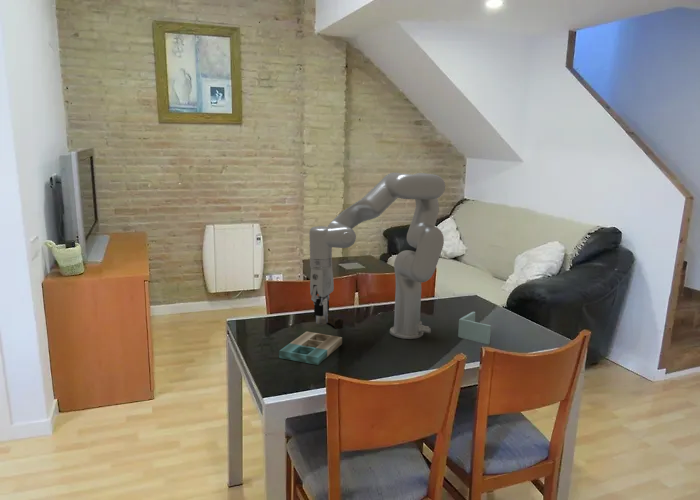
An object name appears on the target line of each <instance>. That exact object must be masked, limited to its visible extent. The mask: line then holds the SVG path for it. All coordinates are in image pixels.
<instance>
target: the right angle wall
mask: <svg viewBox="0 0 700 500" xmlns="http://www.w3.org/2000/svg"><path fill="white" fill-rule="evenodd" d="M491 329H492V325H491V324H488V323H487V324H486V323H483V322H482V323H481V322H477V321H476V311H471V312H470V313H468V314H466V315H464V316H461V318H459V319H458V331H457V333H458V334H457V337H458V338H461V339H464V340H469V341H473V342H477V343H481V344H484V345H488V346H489V345H490V344H491V342H490V341H491Z"/></svg>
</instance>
